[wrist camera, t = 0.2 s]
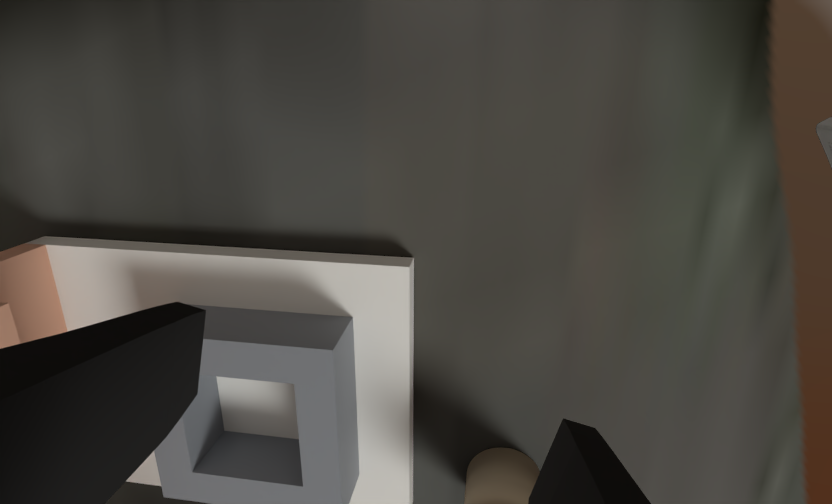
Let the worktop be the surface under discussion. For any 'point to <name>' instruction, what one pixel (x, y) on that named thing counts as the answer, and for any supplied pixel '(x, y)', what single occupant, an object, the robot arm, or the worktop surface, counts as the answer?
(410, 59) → the worktop surface
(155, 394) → the robot arm
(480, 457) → the peg
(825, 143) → the skincare box
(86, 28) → the worktop surface
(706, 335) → the worktop surface
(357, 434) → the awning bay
